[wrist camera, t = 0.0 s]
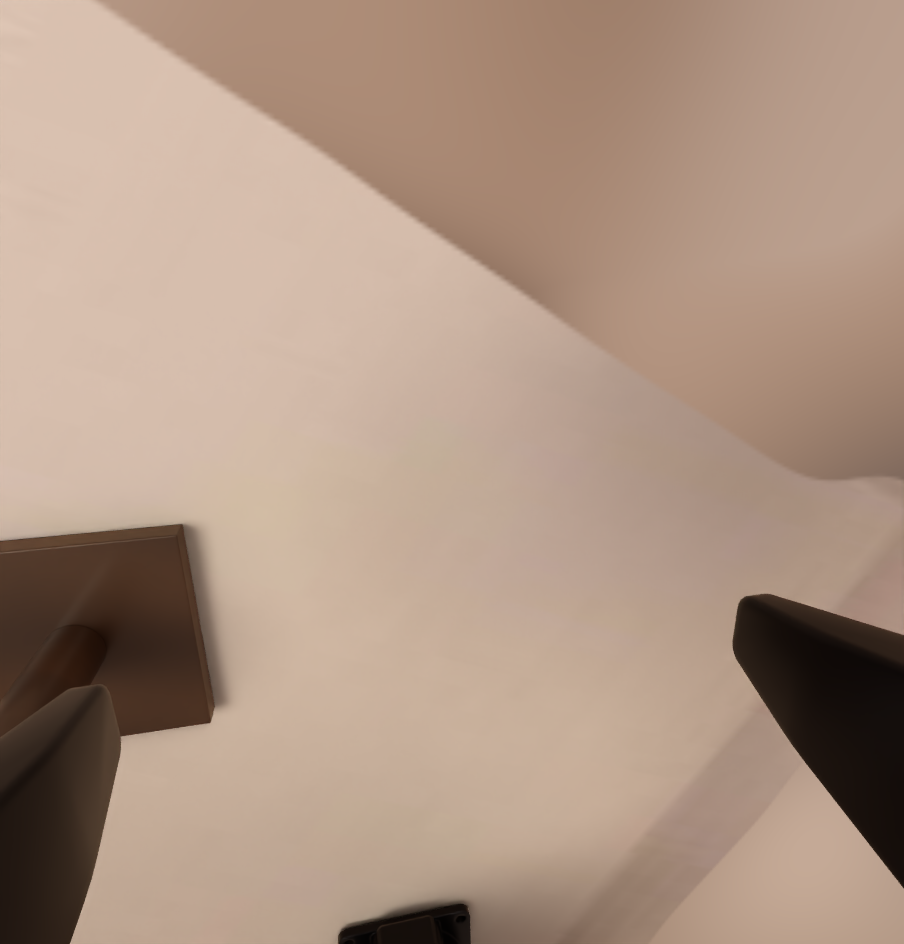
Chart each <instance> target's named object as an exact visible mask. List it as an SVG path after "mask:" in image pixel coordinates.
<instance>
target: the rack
mask: <svg viewBox="0 0 904 944" xmlns="http://www.w3.org/2000/svg"><path fill="white" fill-rule="evenodd" d="M97 684H102V685H104V686H106V687H107V689H108V690H109V692H110V695H111V699H112V703H113V708H114V712H115V716H116V720H117V724H118V728H119V732H120V736H126V735H133V734H139V733H146V732H153V731H159V730H166V729H173V728H179V727H186V726H192V725H199V724H206V723H210V722H211V719H212V715H213V711H214V707H215V705H214V699H213V694H212V688H211V682H210V677H209V671H208V665H207V660H206V654H205V648H204V643H203V637H202V632H201V626H200V620H199V615H198V609H197V603H196V598H195V592H194V586H193V581H192V575H191V569H190V564H189V558H188V553H187V547H186V541H185V536H184V530H183V525H170V526H160V527H149V528H138V529H128V530H117V531H106V532H96V533H85V534H74V535H64V536H53V537H42V538H32V539H21V540H10V541H0V737H1V736H3V735H4V734H6V733H7V732H8V731H10V730H11V729H13V728H14V727H16V726H17V725H18V724H20V723H21V722H23V721H24V720H25V719H27V718H28V717H30V716H31V715H32V714H34V713H35V712H37V711H38V710H39V709H41V708H42V707H44V706H45V705H46V704H48V703H49V702H51V701H52V700H53V699H55V698H56V697H58V696H59V695H60V694H62V693H63V692H65V691H66V690H68V689H70V688H75V687H82V686H90V685H97Z"/></svg>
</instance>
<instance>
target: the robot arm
mask: <svg viewBox="0 0 904 944" xmlns="http://www.w3.org/2000/svg"><path fill="white" fill-rule="evenodd" d="M733 651H734V654H735V657H736V659H737V661H738V663H739V664H740V666H741V667H742V669H743V670H744V672H745V673H746V675H747V676H748V678H749V680H750V681H751V683H752V684H753V686H754V687H755V689H756V690H757V692H758V693H759V695H760V697H761V698H762V700H763V701H764V703H765V704H766V706H767V707H768V709H769V710H770V712H771V714H772V715H773V717H774V718H775V720H776V721H777V723H778V724H779V726H780V728H781V729H782V731H783V732H784V734H785V735H786V736H787V738H788V739H789V741H790V742H791V744H792V745H793V747H794V748H795V749H796V751H797V752H798V753H799V755H800V756H801V757H802V759H803V760H804V761H805V763H806V764H807V765H808V767H809V768H810V769H811V770H812V772H813V773H814V774H815V775H816V777H817V778H818V779H819V781H820V782H821V783H822V784H823V786H824V787H825V788H826V790H827V791H828V792H829V793H830V795H831V796H832V797H833V799H834V800H835V801H836V802H837V804H838V805H839V806H840V807H841V809H842V810H843V811H844V813H845V814H846V815H847V816H848V818H849V819H850V820H851V821H852V823H853V824H854V825H855V827H856V828H857V829H858V830H859V832H860V833H861V834H862V836H863V837H864V838H865V839H866V841H867V842H868V843H869V845H870V846H871V847H872V848H873V850H874V851H875V852H876V853H877V855H878V856H879V857H880V859H881V860H882V861H883V862H884V864H885V865H886V866H887V867H888V869H889V870H890V871H891V872H892V874H893V875H894V876H895V878H896V879H897V880H898V882H899V883H900V884H901V886H902V887H903V888H904V635H901V634H898V633H895V632H891V631H888V630H885V629H882V628H878V627H875V626H872V625H869V624H866V623H862V622H859V621H856V620H853V619H849V618H846V617H843V616H840V615H836V614H833V613H830V612H827V611H823V610H820V609H817V608H814V607H810V606H807V605H804V604H801V603H797V602H794V601H791V600H788V599H784V598H781V597H778V596H775V595H771V594H760V595H753V596H746V597H744V598H743V599H741V601H740V602H739V604H738V609H737V615H736V622H735V629H734V635H733ZM120 752H121V737H120V732H119V728H118V724H117V720H116V716H115V712H114V708H113V703H112V699H111V695H110V692H109V690H108V689H107V687H106V686H104V685H102V684H97V685H90V686H82V687H75V688H70V689H68V690H66V691H65V692H63V693H62V694H60V695H59V696H58V697H56V698H55V699H53V700H52V701H51V702H49V703H48V704H46V705H45V706H44V707H42V708H41V709H39V710H38V711H37V712H35V713H34V714H32V715H31V716H30V717H28V718H27V719H25V720H24V721H23V722H21V723H20V724H18V725H17V726H16V727H14V728H13V729H11V730H10V731H8V732H7V733H6V734H4V735H3V736H1V737H0V944H70V942H71V939H72V936H73V933H74V930H75V927H76V925H77V922H78V919H79V916H80V913H81V910H82V907H83V904H84V901H85V898H86V895H87V892H88V888H89V885H90V882H91V879H92V875H93V871H94V867H95V863H96V859H97V855H98V851H99V847H100V842H101V838H102V833H103V829H104V824H105V820H106V816H107V811H108V807H109V802H110V798H111V793H112V789H113V785H114V780H115V776H116V771H117V767H118V762H119V758H120ZM338 944H471V938H470V914H469V910H468V907H467V906H466V905H464V904H458V905H453V906H448V907H444V908H439V909H435V910H430V911H425V912H421V913H416V914H412V915H407V916H402V917H398V918H393V919H389V920H384V921H380V922H375V923H370V924H366V925H361V926H357V927H352V928H348V929H345V930H343V931H342V932H340V934H339V936H338Z"/></svg>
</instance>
